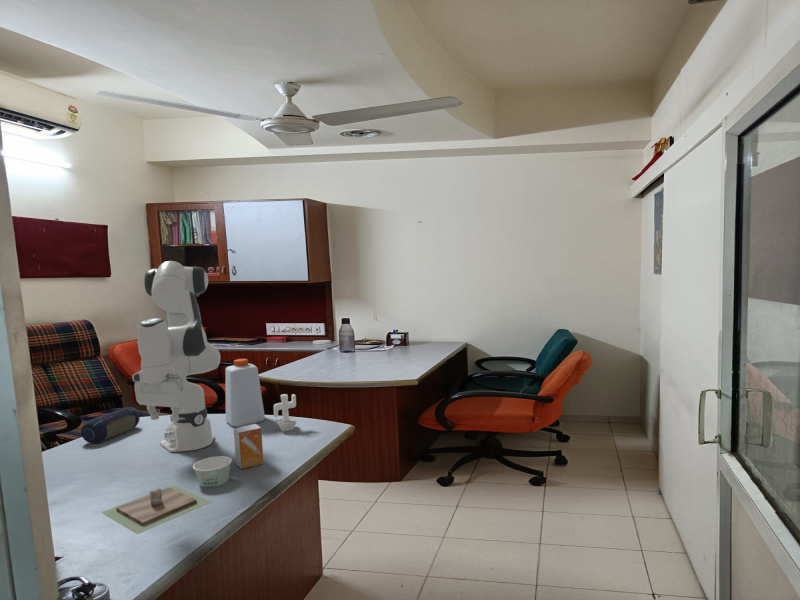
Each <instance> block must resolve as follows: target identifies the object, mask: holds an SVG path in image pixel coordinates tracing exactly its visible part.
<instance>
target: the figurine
mask: <svg viewBox="0 0 800 600" xmlns="http://www.w3.org/2000/svg"><path fill="white" fill-rule="evenodd" d="M288 399H289V396H288V394H286V393H284V394H280V400H281V402H278V403H275V404H273V416H274V417H275V418H277V417H278V416H279V411H282V412H281V413H282V414H281V415H282V418H281V419H276V420H275V422H276V424H277V425H278V427H279V429H280V430H281V432H283V433H284V432H290V431H293V430H294V428H295V427H296V424H297V420H296V419H295V418H294V417H289V416H290V415H289V414H290V413H289V409H293V408H296V407H297V395H296V394H294V393H293V394H291V401H289V400H288ZM289 430H290V431H289Z"/></svg>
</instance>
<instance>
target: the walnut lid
mask: <svg viewBox="0 0 800 600" xmlns="http://www.w3.org/2000/svg"><path fill="white" fill-rule="evenodd" d="M165 488H166V487H165ZM161 489H163V490H161ZM149 494H150V495H148V494H147V495H148V496H145V495H144V496H145V497H143V496H142V497H143V498H140V497H139V498H140V499H138V498H136V499H137V500H135V499H134V500H135V501H132V500H131V501H132V502H130V501H128V502H129V503H127V502H126V503H127V504H124V503H123V504H124V505H122V504H121V505H122V506H119V505H118V506H119V507H117V506H115V507H116V510H117V511H118V512H119V513H121V514H123V515H125V516H126V517H128V518H130V519H132V520H133V521H135V522H137V523H139V524H140V525H142V526H144V525H146V524H149V523H151V522H153V521H156V520H158V519H160V518H163V517H165V516H167V515H170V514H172V513H175V512H177V511H179V510H182V509H184V508H186V507H189V506H191V505H193V504H196V503H197V500H196V499H194V498H192V497H189V496H187V495H185V494H183V493H180V492H178V491H176V490H174V489H172V488H166V489H164V488H159V487H158V488H157V487H156V488H153V489H150V491H149Z"/></svg>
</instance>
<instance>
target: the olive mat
mask: <svg viewBox="0 0 800 600" xmlns="http://www.w3.org/2000/svg"><path fill="white" fill-rule="evenodd" d="M166 488H172V489H174V490H176V491H178V492H180V493H183V494H185V495H187V496H189V497H192V498H194V499H196V500H197V503H196V504H193V505H191V506H189V507H186V508H184V509H182V510H179V511H177V512H175V513H172V514H170V515H167V516H165V517H163V518H160V519H158V520H156V521H153V522H151V523H149V524H146V525H144V526H142V525H140V524H139V523H137V522H135V521H133V520H132V519H130V518H128V517H126V516H125V515H123V514H121V513H119V512H118V511H117V510H116V507H119V506H122V505H124V504H127V503H129V502H132V501H135V500H137V499H140V498H143V497H145V496H148V495H150V493H149V494H146V495H143V496H141V497H137V498H136V499H135V498H134V499H133V500H130V501H128V502H125V503H122V504H119V505H117V506H114V507H112V508H110V509H106V510H104V511H102V512H101V513H102V514H103V515H105V516H106V517H108V518H109V519H112V520H113V521H114V522H116V523H118V524H120V525H121V526H122V527H124V528H126V529H127V530H130V531H131V532H133V533H134V534H136V535H139V534H140V533H143V532H144V531H147V530H149V529H150V530H151V529H152V528H154V527H157V526H160V525H161V524H163V523H167V522H169V521H170V520H172V519H175V518H177V517H181V516H182V515H185V514H187V513H189V512H191V511H193V510H196V509H198V508H200V507H203V506H205V505H207V504H208V505H209V504H210V503H212V501H211V500H209V499H207V498H204V497H202V496H200V495H198V494H195V493H193V492H192V491H188V490H186V489H184V488H181V487H179V486H178V485H175V484H172V485H169V486H166V487H164V488H160V489H161V490H163V489H166Z"/></svg>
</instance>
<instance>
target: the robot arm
mask: <svg viewBox="0 0 800 600" xmlns="http://www.w3.org/2000/svg"><path fill="white" fill-rule="evenodd" d="M142 284H143V288H144V290H145V292H146V294H147V295H148V296H150V297H151V299H152V301H153V302H154V304H155V305H156V307H159V308H160V309H162V310H164V311H166V318H167V321H166V319H164V318H160V317H155V318H148V319H145V320H142V321H141V322H139V323H138V324H137V348H138V354H139V355H140V358H141V360H140V361H141V363H140V370H139V371H137V372H136V373H134V374H132V375H131V378H132V381H133V383H134V393H135V399H136V402H137V403H138V405H140V406H146V410H147V411H148V413H149V414H150V415H149V417H150V420H154V421H156V420H159V419H160V416H159V415H160V413H159V412H157V409H156V407H166V408H170V410H171V411H172V412H171V415H169V418H170V422H171V423H170V424H169V425H168V426H167V427H166V428H165V432H164V434H163V436H164V438H163V439H162V440H160V441H159V445H160V446H162V448H164V449H165V450H167V451H168V452H170V453H177V452H188V451H189V452H190V451H195V450H199V449H203V448H206V447H208V446H210V445H211V444H212V443H213V441H214V440H215V439H216V436H215V435H213V431H212V425H211V424H212V423H211V420H210V419H209V418H207V417H208V409H207V407H206V403H205V402H206V400H205V391H204V388H203V387H202V386H201V385H199V384H197V383H193V382H190V381H188V380H187V376H191V375H197V374H204V373H205V374H206V373H208V372H210V371H214V370H216V369H217V368H218V367H219V365H220V363H221V354H220V353H221V352H220V351H219V350H218V348H217V347H216V346H215V345H213V344H211V343H210V342H209V341H208V338H207V333H206V332H205V329H204V327H203V321H202V318H201V317H202V316H201V312H200V308H199V307H200V306H199V303H198V300H197V298H198V297H200V295H202V294H204V293H205V292H206V291H207V288H208V285H209V276H208V273H206V269H204V268H203V267H202V266H201V267H200V266H194V265H193V266H184V265H182V264H181V263H180V262H178V261H174V260H168V261H164V262H162V263H161V264H160V265H159V266H158V268H156V267H155V268H152V269H149V270H147V271H146V273H144V278H143V283H142Z"/></svg>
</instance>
